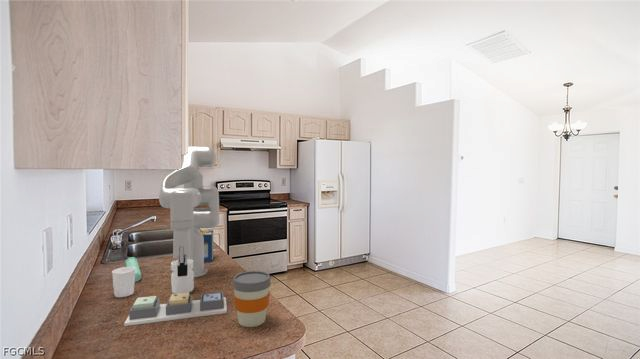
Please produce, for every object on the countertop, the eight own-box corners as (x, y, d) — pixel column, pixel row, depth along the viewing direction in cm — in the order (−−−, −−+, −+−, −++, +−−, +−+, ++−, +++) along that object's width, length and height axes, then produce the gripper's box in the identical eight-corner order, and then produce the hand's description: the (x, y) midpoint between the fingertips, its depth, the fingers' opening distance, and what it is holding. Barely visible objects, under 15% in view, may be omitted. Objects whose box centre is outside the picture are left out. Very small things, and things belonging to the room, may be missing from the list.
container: (139, 269, 142) (134, 254, 162) (125, 276, 139) (122, 260, 159) (145, 279, 143) (140, 264, 164) (131, 287, 140) (127, 270, 161)
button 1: (137, 304, 112) (137, 297, 112) (156, 302, 114) (156, 295, 114) (133, 312, 106) (133, 304, 106) (153, 309, 108) (153, 302, 108)
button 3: (203, 301, 119) (203, 294, 119) (220, 299, 121) (220, 292, 121) (203, 308, 113) (203, 301, 113) (220, 306, 115) (220, 299, 115)
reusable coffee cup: (238, 333, 99) (238, 286, 99) (229, 316, 110) (228, 274, 110) (275, 324, 105) (276, 279, 105) (263, 309, 116) (263, 268, 116)
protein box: (185, 258, 179) (184, 231, 178) (213, 256, 182) (213, 230, 182) (181, 263, 168) (181, 235, 168) (212, 262, 172) (211, 233, 172)
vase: (195, 285, 139) (195, 258, 138) (192, 293, 130) (191, 264, 130) (173, 286, 137) (173, 259, 136) (169, 295, 128) (168, 265, 128)
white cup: (117, 291, 131) (117, 267, 131) (138, 289, 133) (138, 266, 133) (109, 298, 124) (108, 273, 123) (131, 297, 125) (130, 272, 125)
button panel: (133, 310, 114) (133, 299, 114) (225, 299, 124) (225, 289, 124) (124, 326, 103) (124, 314, 103) (226, 312, 113) (226, 301, 113)
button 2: (171, 300, 115) (171, 294, 115) (189, 298, 117) (189, 292, 117) (169, 307, 110) (169, 300, 110) (188, 305, 112) (188, 298, 112)
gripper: (172, 221, 118) (172, 270, 119) (168, 229, 104) (169, 284, 105) (194, 220, 121) (194, 268, 122) (193, 228, 107) (193, 281, 108)
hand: (182, 275), depth 113 cm, fingers closed
